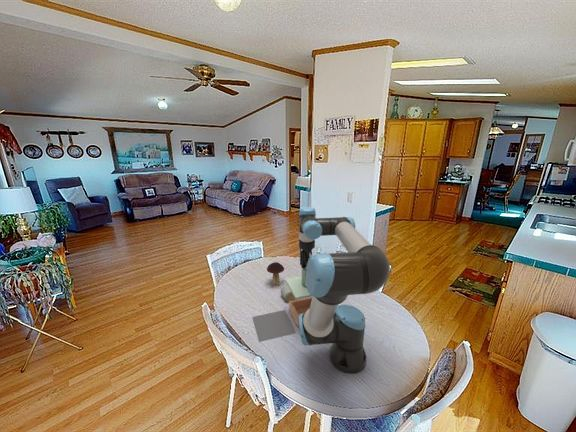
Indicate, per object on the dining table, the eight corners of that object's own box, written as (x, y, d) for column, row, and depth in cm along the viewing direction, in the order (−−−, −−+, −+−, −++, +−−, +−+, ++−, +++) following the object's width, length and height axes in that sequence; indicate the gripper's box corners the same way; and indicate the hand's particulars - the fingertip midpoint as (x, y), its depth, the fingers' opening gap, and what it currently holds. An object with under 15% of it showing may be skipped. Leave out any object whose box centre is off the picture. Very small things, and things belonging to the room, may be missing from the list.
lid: (329, 293, 124) (330, 276, 122) (296, 299, 120) (296, 282, 117) (315, 275, 140) (315, 260, 137) (285, 281, 135) (285, 265, 132)
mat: (296, 333, 123) (296, 332, 123) (259, 342, 118) (259, 341, 118) (285, 310, 140) (285, 309, 139) (252, 317, 134) (252, 316, 134)
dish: (324, 322, 130) (324, 312, 129) (298, 328, 126) (298, 318, 125) (313, 305, 143) (313, 296, 141) (289, 311, 139) (289, 301, 137)
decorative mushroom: (287, 282, 166) (287, 261, 162) (278, 290, 158) (277, 268, 153) (273, 277, 172) (273, 257, 168) (263, 285, 163) (262, 264, 159)
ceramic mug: (285, 304, 145) (285, 292, 142) (280, 296, 152) (280, 284, 150) (302, 300, 148) (302, 288, 146) (296, 292, 156) (297, 281, 153)
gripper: (322, 245, 115) (320, 291, 122) (307, 232, 131) (306, 272, 138) (306, 248, 113) (306, 294, 120) (293, 233, 129) (293, 275, 136)
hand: (306, 282), depth 129 cm, fingers closed on lid, 5 cm apart
